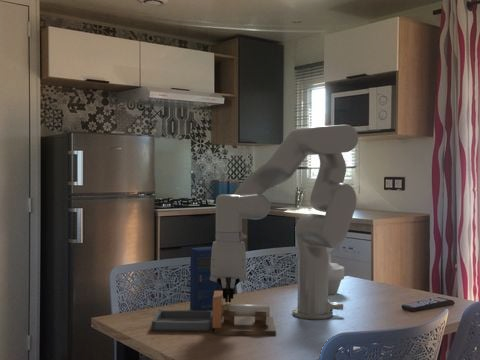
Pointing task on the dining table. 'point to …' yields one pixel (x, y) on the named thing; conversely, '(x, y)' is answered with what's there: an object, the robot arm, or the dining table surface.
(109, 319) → the dining table surface
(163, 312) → the tray
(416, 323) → the dining table surface
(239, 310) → the yellow-tipped white cylinder
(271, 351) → the dining table surface
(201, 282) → the electronic device
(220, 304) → the orange bracket
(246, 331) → the cradle board
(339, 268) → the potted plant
